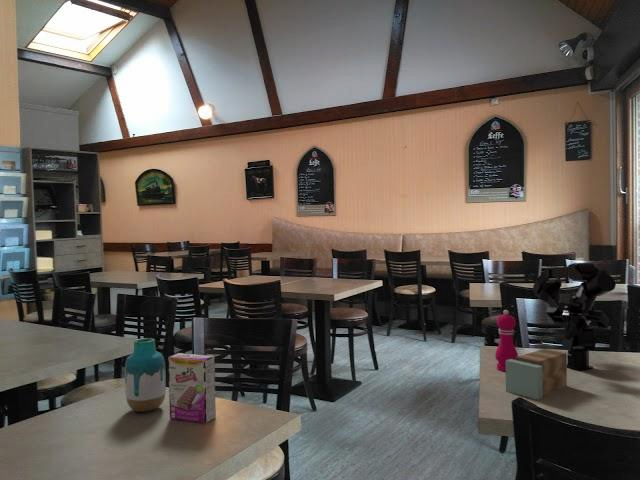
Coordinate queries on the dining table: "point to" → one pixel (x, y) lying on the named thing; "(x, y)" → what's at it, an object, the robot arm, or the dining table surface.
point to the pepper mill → (505, 340)
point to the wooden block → (549, 368)
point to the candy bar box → (192, 387)
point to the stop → (524, 379)
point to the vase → (145, 376)
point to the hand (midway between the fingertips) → (566, 339)
